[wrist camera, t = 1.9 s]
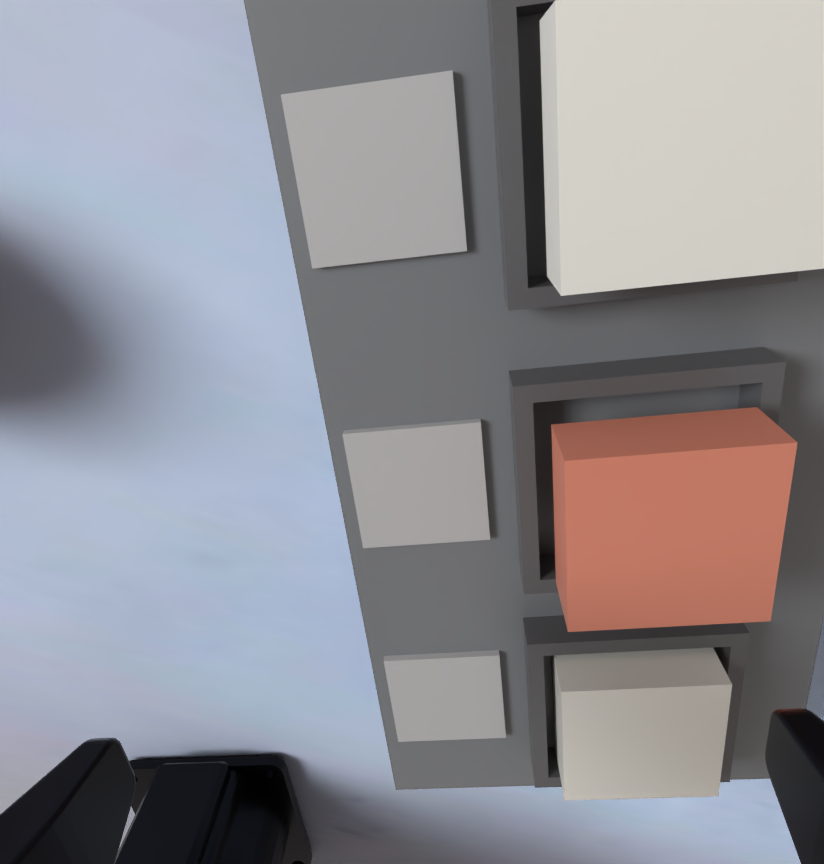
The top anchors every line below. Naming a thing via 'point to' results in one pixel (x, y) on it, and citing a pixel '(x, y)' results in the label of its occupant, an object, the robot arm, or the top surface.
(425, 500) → the button panel
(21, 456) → the top surface
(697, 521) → the button middle
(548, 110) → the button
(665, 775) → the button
